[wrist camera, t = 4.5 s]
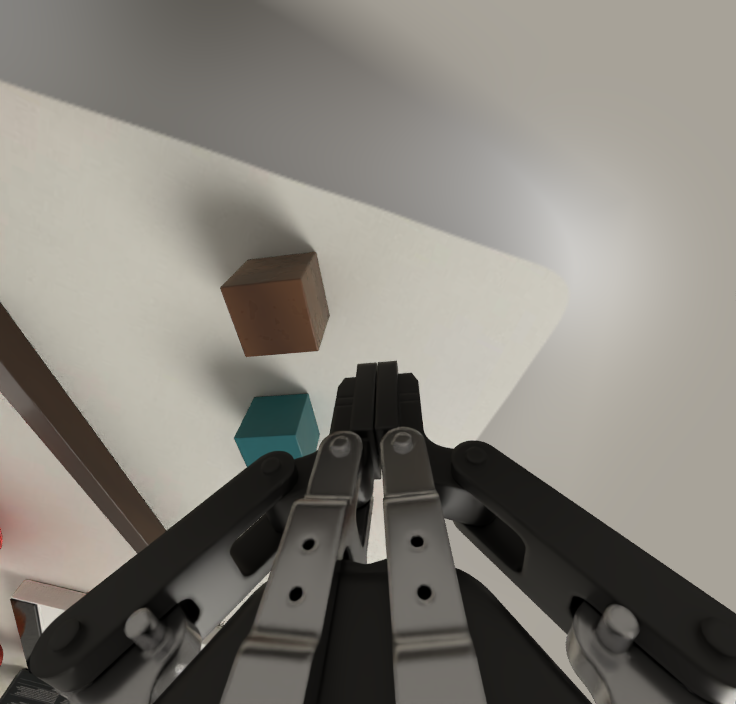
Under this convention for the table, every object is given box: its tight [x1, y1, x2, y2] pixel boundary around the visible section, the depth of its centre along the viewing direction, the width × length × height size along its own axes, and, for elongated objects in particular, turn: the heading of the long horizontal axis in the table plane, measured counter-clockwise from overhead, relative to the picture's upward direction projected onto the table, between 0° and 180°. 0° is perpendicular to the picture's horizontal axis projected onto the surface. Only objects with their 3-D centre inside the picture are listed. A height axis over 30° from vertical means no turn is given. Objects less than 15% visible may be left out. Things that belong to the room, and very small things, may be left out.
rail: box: [0, 303, 166, 554], centre depth 37 cm, size 2×44×2 cm, turn 8°
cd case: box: [10, 580, 222, 674], centre depth 59 cm, size 35×2×31 cm
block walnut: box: [220, 252, 330, 357], centre depth 23 cm, size 4×4×4 cm
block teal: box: [234, 393, 320, 467], centre depth 29 cm, size 4×4×4 cm
